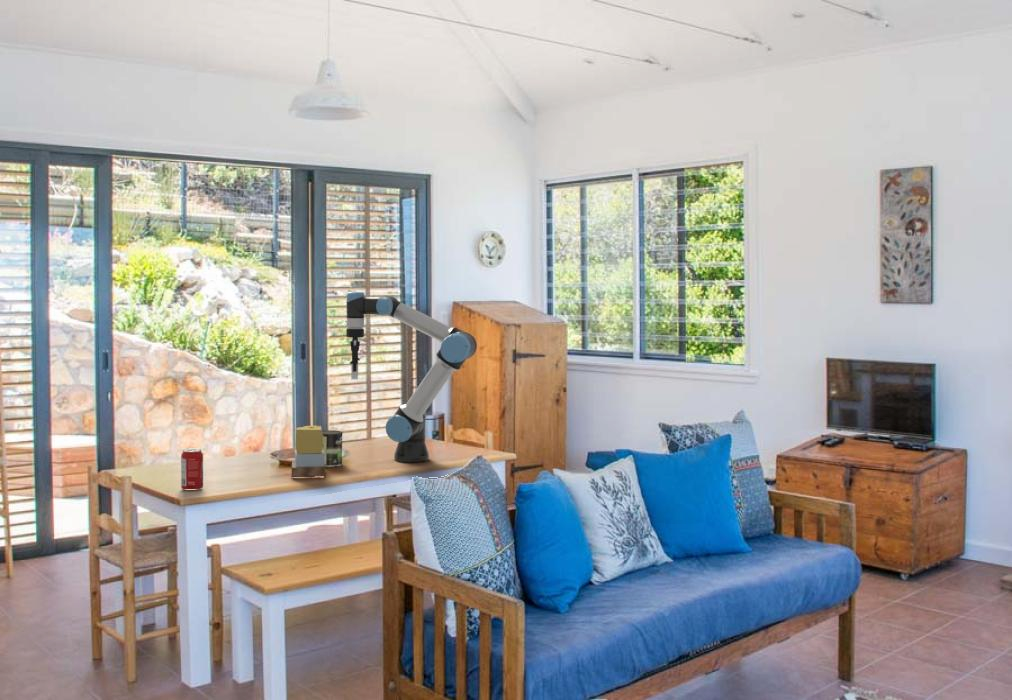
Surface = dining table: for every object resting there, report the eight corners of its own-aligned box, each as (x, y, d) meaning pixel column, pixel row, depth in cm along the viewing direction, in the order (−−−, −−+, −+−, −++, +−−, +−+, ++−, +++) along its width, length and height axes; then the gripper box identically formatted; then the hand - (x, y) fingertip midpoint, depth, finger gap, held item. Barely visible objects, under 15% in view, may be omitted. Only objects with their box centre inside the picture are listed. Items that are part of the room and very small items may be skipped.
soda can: (177, 491, 376) (177, 451, 375) (187, 486, 384) (187, 447, 383) (197, 492, 375) (197, 452, 374) (206, 487, 383) (206, 448, 382)
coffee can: (345, 463, 436) (346, 430, 435) (337, 467, 426) (337, 434, 424) (323, 461, 438) (323, 429, 437) (313, 466, 428) (314, 433, 427)
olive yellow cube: (295, 449, 413) (295, 425, 413) (322, 449, 416) (322, 425, 415) (295, 454, 403) (295, 429, 402) (323, 454, 405) (323, 429, 405)
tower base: (324, 472, 418) (324, 460, 417) (324, 479, 405) (325, 467, 404) (292, 473, 415) (292, 461, 415) (291, 480, 402) (291, 467, 402)
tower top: (322, 461, 417) (322, 449, 416) (324, 466, 406) (324, 453, 406) (294, 461, 414) (294, 449, 413) (296, 467, 403) (296, 454, 403)
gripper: (347, 326, 446) (346, 374, 448) (345, 329, 421) (345, 380, 423) (364, 326, 447) (363, 374, 449) (363, 330, 422) (363, 380, 424)
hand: (354, 377), depth 436 cm, fingers open, 13 cm apart
